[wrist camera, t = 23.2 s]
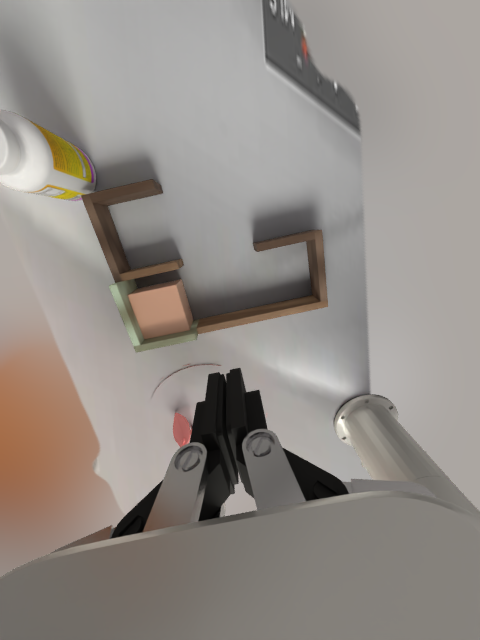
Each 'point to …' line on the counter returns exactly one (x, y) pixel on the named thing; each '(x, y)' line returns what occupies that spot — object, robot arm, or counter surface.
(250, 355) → the counter surface
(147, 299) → the terracotta block
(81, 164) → the supplement bottle
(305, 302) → the box
